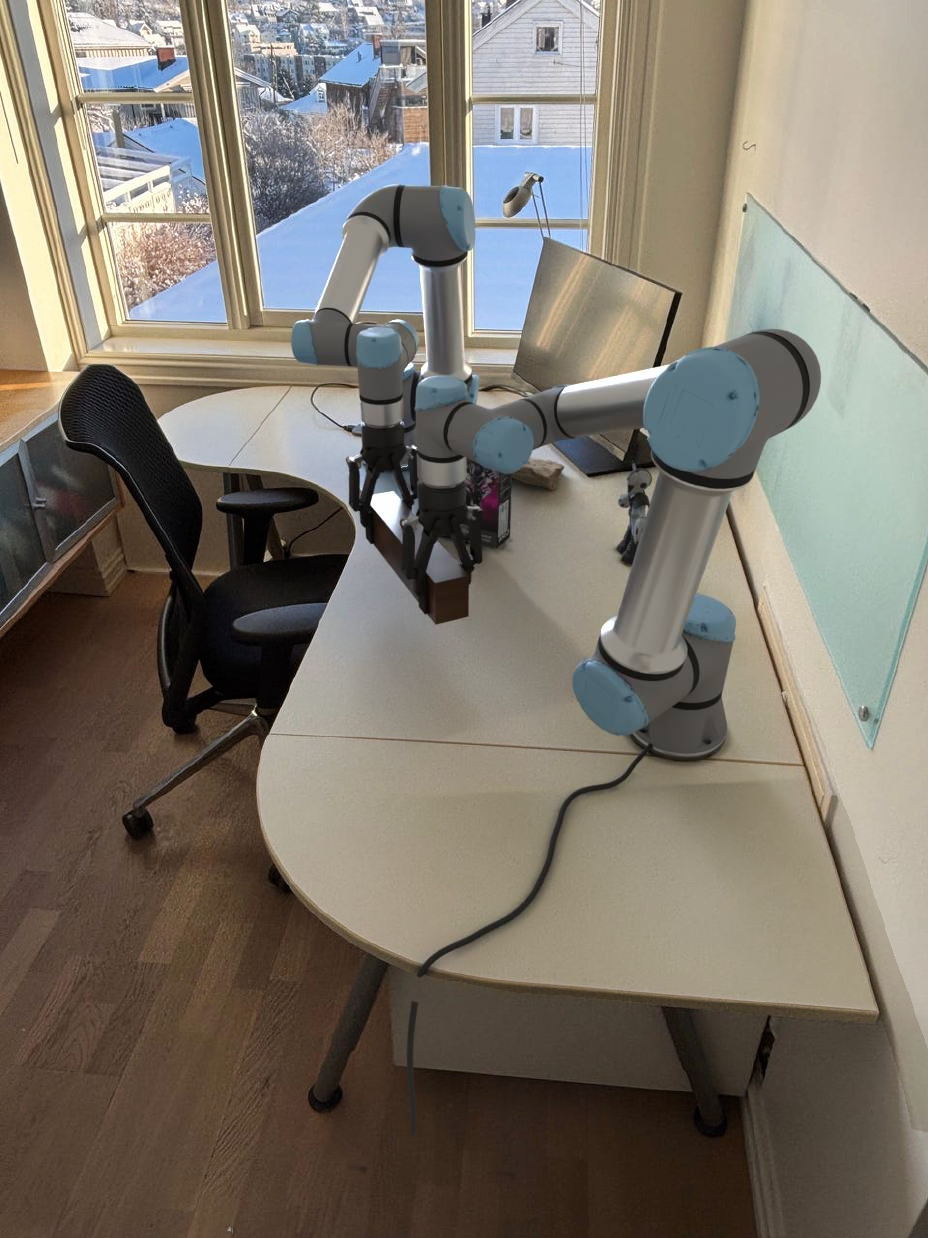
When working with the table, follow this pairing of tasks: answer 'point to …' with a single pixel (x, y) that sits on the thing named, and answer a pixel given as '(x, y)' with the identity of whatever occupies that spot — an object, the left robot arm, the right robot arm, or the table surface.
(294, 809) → the table surface
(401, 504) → the beam
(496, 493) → the graphics card box
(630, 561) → the robot
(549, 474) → the stone
